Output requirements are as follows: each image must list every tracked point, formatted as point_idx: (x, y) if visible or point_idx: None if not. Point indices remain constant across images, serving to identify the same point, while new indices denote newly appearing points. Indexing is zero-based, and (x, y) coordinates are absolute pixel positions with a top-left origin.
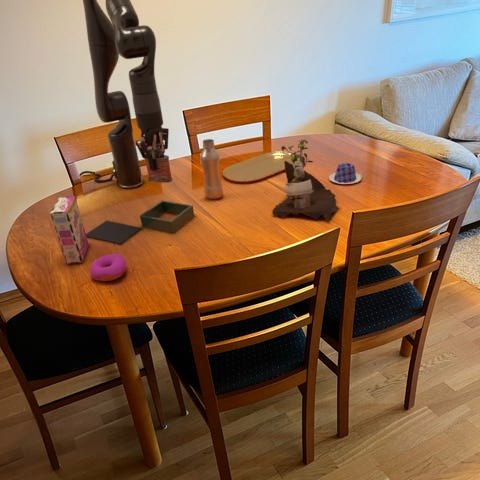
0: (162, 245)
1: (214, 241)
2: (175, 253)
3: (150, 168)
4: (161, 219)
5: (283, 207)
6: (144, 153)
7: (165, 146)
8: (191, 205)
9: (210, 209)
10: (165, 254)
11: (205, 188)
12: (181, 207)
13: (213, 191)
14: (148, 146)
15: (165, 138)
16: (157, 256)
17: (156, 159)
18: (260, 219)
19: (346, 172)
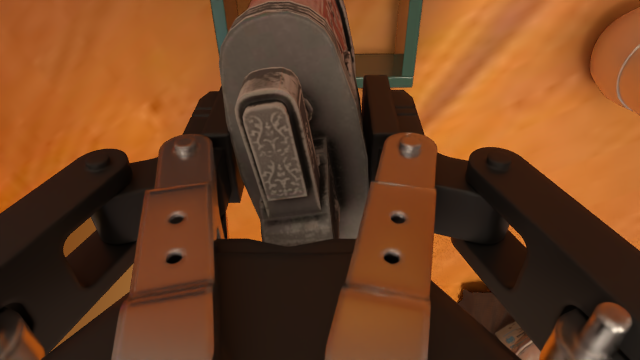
0: (135, 80)
1: (257, 215)
2: (126, 151)
3: (205, 99)
4: (219, 28)
5: (498, 310)
6: (95, 204)
7: (458, 250)
8: (410, 82)
9: (487, 92)
10: (98, 126)
11: (631, 43)
12: (404, 18)
13: (605, 86)
14: (217, 225)
15: (527, 323)
16: (69, 109)
17: (253, 191)
18: (438, 264)
19: None
